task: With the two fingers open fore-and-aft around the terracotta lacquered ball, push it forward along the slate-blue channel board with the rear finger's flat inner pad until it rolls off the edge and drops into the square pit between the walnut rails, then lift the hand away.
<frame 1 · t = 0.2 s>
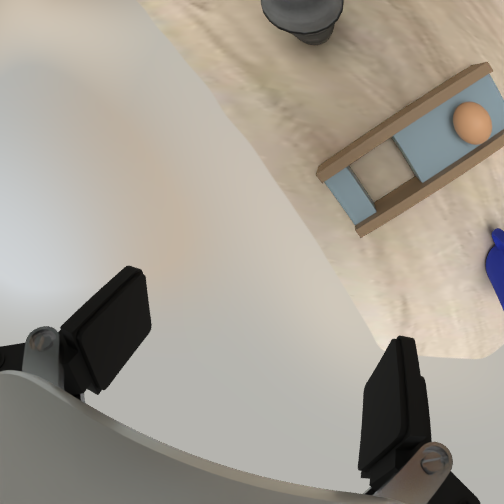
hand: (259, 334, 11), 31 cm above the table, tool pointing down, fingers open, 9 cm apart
mug: (497, 248, 34), on the table
board: (420, 141, 31), on the table
ball: (472, 123, 23), point 6 cm above the table, touching board
beverage cup: (313, 29, 29), on the table
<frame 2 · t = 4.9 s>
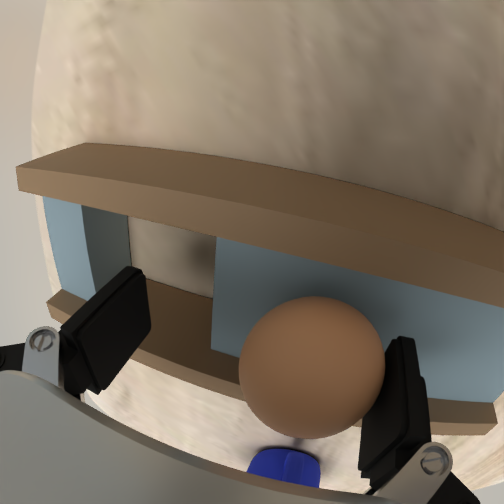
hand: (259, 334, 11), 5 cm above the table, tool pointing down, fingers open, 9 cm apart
mug: (292, 450, 24), on the table
board: (299, 268, 15), on the table
ball: (312, 368, 9), point 6 cm above the table, tilted 89°, touching board, gripper
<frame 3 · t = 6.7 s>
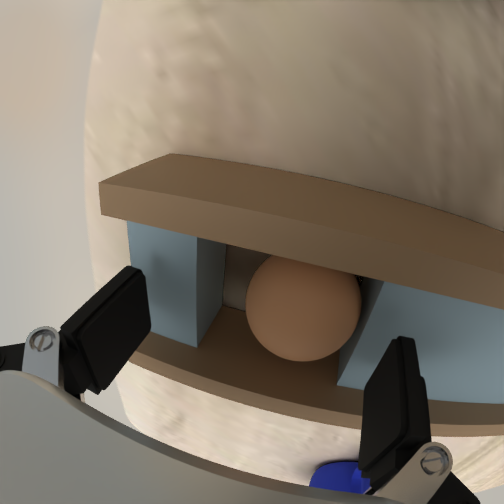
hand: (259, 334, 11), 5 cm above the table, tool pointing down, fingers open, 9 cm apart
mug: (353, 462, 23), on the table
board: (415, 297, 13), on the table
ball: (303, 303, 12), point 2 cm above the table, tilted 95°
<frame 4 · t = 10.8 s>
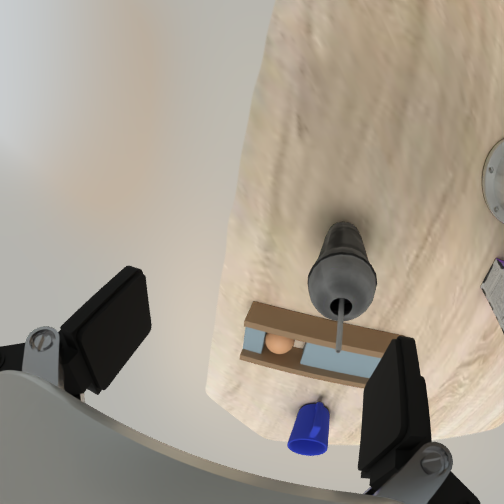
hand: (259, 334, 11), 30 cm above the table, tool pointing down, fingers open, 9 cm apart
mug: (316, 405, 58), on the table
board: (324, 340, 49), on the table
ball: (279, 339, 48), point 2 cm above the table, tilted 53°
beverage cup: (343, 236, 40), on the table
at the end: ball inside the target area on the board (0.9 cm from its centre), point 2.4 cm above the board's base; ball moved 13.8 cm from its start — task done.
